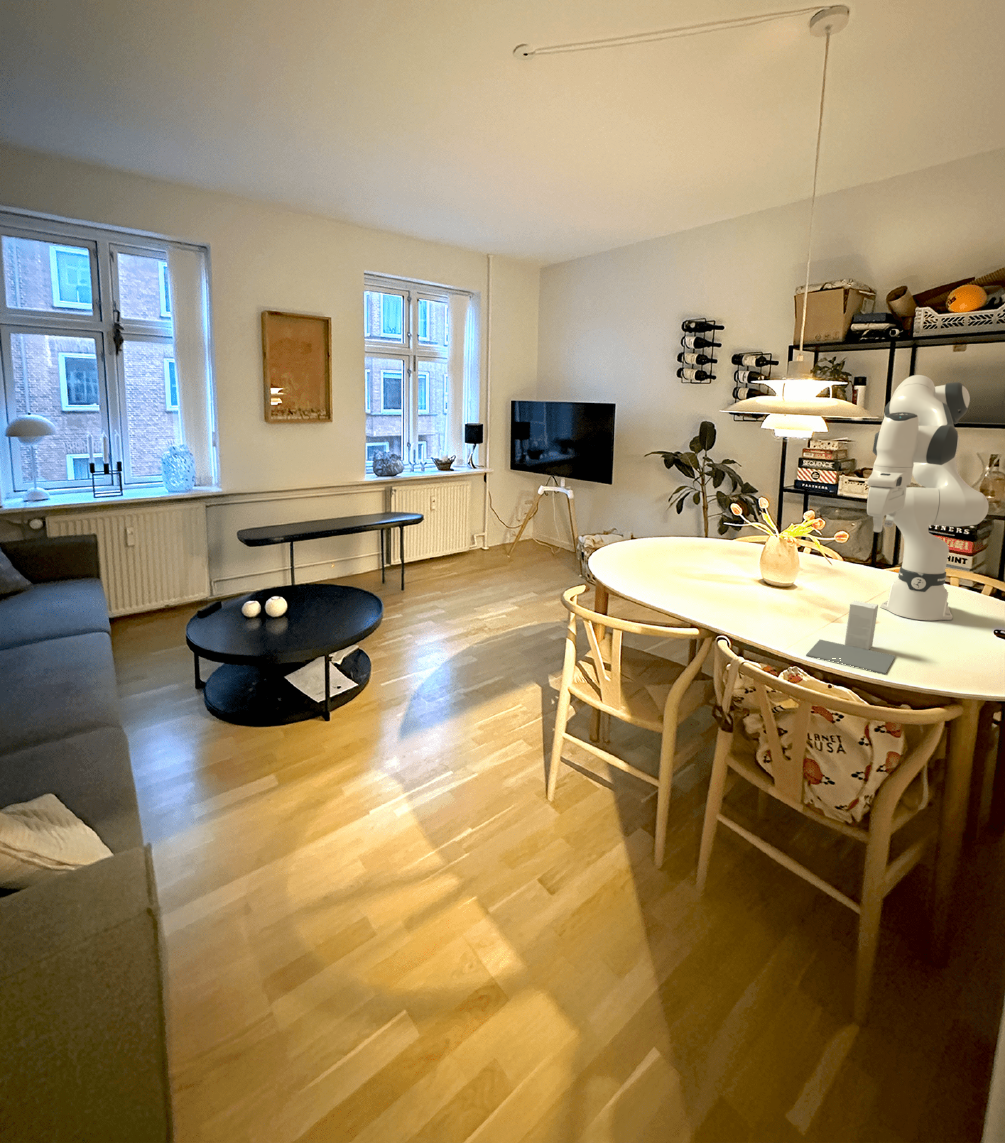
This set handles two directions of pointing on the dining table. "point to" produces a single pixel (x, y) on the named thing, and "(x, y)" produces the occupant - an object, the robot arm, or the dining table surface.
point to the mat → (852, 656)
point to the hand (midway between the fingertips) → (882, 529)
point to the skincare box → (861, 624)
